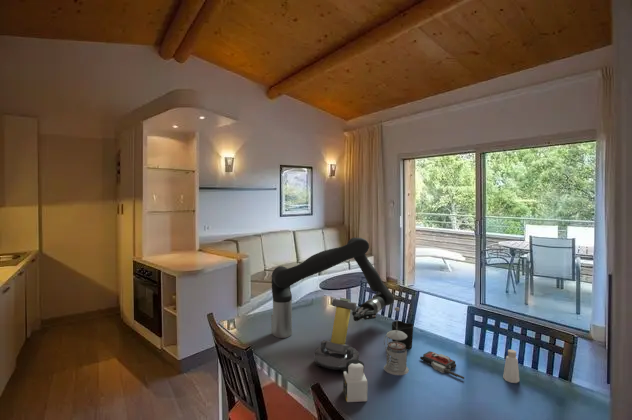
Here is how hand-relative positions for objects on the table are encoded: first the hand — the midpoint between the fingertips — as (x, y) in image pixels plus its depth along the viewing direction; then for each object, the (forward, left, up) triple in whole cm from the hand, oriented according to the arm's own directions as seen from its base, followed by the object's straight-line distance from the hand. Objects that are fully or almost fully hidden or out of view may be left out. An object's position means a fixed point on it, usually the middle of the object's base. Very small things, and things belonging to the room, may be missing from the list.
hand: (355, 318), depth 158 cm
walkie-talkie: (+38, +3, -14) cm, 40 cm away
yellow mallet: (0, -17, -8) cm, 19 cm away
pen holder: (+17, +14, -14) cm, 26 cm away
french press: (+21, -7, -14) cm, 26 cm away
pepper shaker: (+61, +8, -14) cm, 63 cm away
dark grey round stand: (0, -17, -14) cm, 22 cm away
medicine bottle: (+16, -33, -14) cm, 39 cm away
